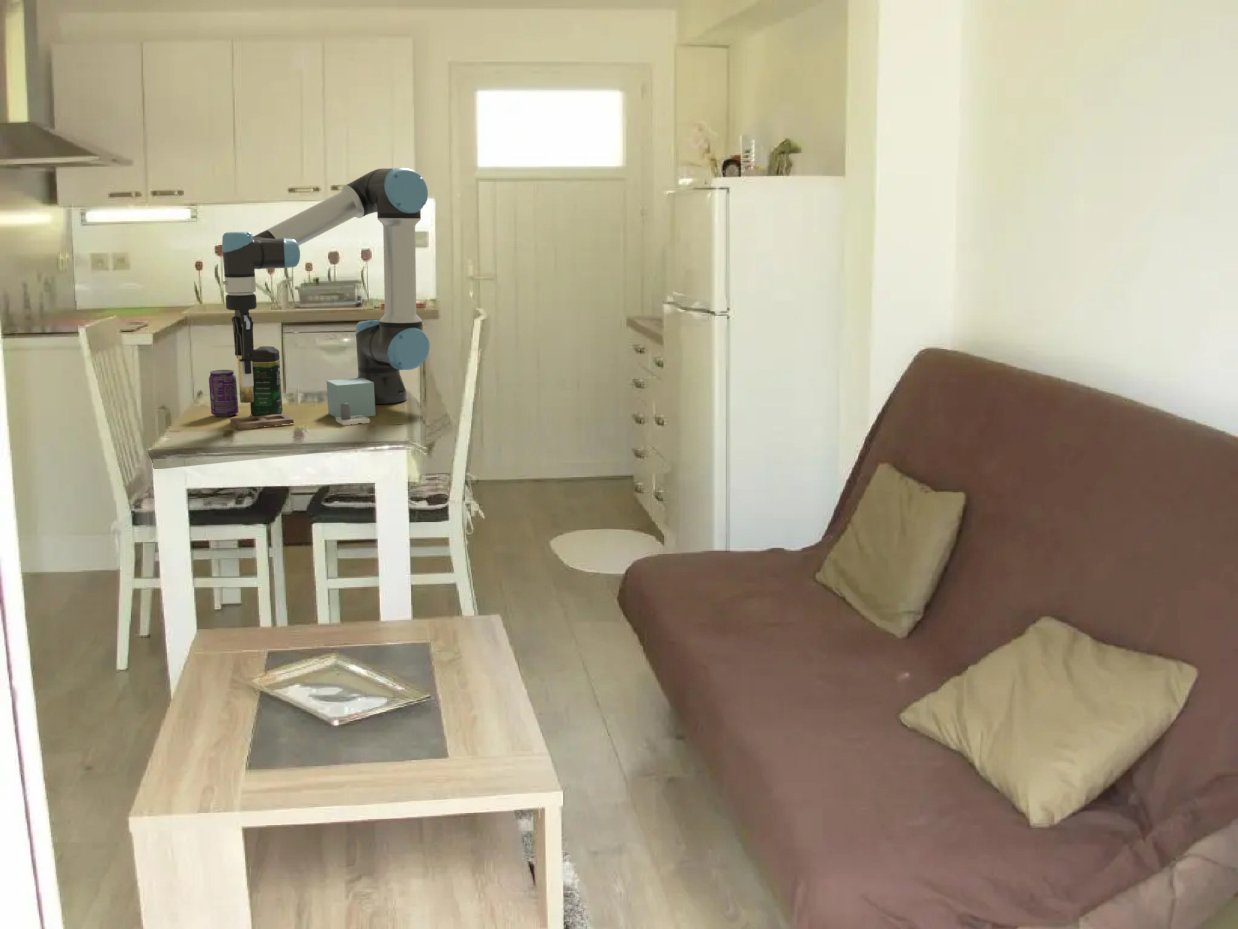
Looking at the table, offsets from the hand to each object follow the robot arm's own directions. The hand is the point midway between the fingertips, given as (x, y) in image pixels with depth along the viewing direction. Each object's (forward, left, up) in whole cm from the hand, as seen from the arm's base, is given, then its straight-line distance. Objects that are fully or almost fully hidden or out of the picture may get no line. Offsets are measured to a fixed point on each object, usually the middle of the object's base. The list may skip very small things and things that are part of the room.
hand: (246, 385), depth 354 cm
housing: (-28, -2, -11) cm, 30 cm away
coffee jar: (-8, -13, -11) cm, 19 cm away
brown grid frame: (-3, 0, -11) cm, 11 cm away
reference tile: (-25, +9, -11) cm, 28 cm away
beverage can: (+2, -19, -11) cm, 22 cm away
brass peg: (0, 0, -4) cm, 4 cm away
